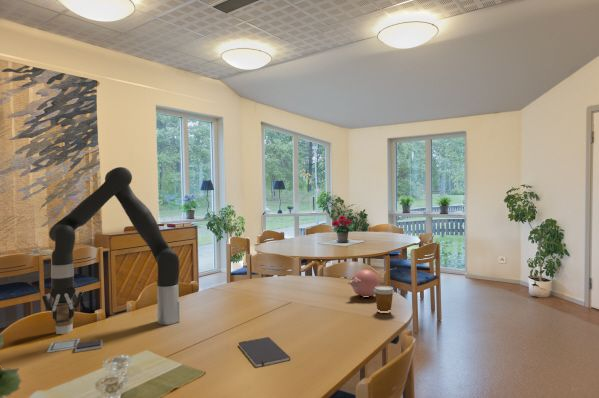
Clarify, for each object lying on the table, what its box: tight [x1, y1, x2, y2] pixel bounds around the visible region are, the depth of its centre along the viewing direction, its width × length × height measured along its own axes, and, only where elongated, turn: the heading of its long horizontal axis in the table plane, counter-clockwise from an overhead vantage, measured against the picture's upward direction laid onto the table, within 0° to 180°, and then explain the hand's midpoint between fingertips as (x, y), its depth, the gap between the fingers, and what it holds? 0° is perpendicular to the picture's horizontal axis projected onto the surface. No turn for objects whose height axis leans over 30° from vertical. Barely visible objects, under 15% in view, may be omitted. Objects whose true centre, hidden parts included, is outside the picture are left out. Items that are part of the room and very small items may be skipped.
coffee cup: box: [51, 296, 76, 335], centre depth 164 cm, size 8×8×15 cm
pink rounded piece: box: [347, 269, 381, 297], centre depth 213 cm, size 15×20×15 cm
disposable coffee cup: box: [374, 285, 395, 311], centre depth 187 cm, size 10×10×12 cm
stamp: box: [56, 303, 70, 323], centre depth 150 cm, size 4×4×6 cm
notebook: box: [238, 336, 291, 367], centre depth 142 cm, size 13×2×21 cm
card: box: [46, 338, 81, 354], centre depth 150 cm, size 10×10×1 cm
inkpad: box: [74, 339, 104, 353], centre depth 148 cm, size 9×6×1 cm
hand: (63, 318), depth 150 cm, fingers closed on stamp, 4 cm apart
